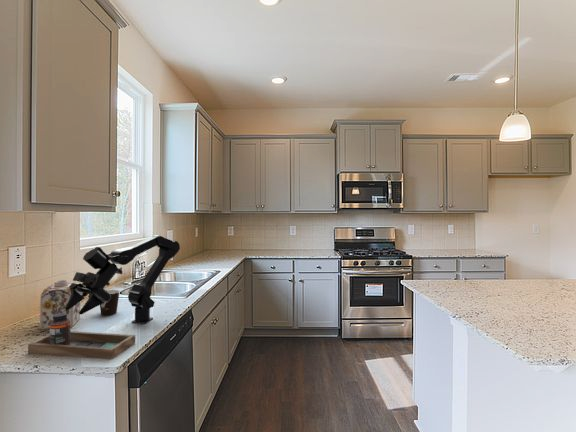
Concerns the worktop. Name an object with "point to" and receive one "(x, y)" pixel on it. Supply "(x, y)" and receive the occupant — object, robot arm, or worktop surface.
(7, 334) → the worktop surface
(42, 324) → the decorative jar
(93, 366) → the worktop surface
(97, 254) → the robot arm
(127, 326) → the worktop surface
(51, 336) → the supplement bottle
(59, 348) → the wooden serving tray
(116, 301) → the coffee mug
